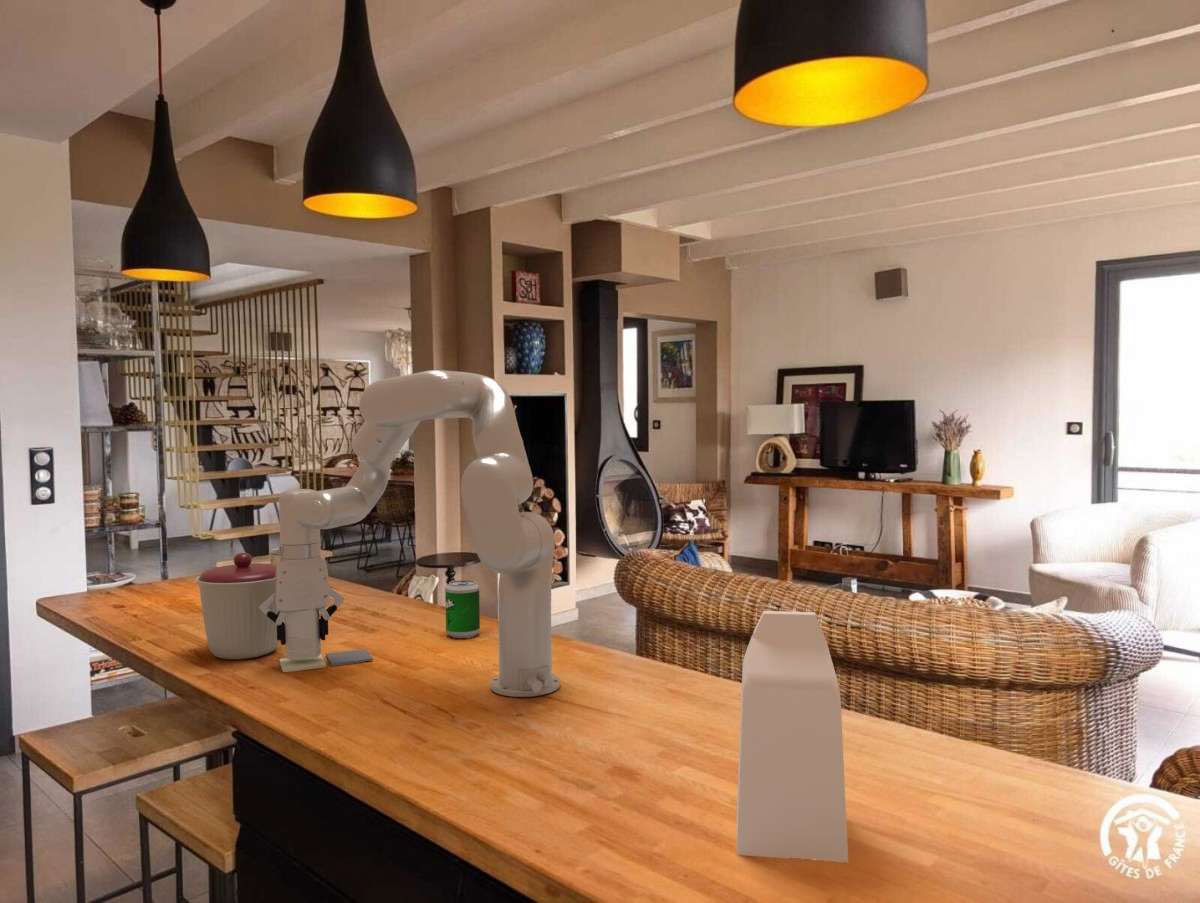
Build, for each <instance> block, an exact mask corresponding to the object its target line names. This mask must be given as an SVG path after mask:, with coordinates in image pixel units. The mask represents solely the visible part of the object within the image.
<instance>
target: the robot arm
mask: <svg viewBox="0 0 1200 903" xmlns="http://www.w3.org/2000/svg"><path fill="white" fill-rule="evenodd" d="M358 408H359V412H360V415H361V417H362V418H363V420H364V422H363V423H362V424H361V425H360V428H358V431H357V432H356V433H355V434H354V436H353V438H352V440H351V448H352V450H353V452H354V453H355V455H356V456H357V457H358V458H359V459H360V462H359V465H358V467H357V469H356V471H355V473H354V474H353V476H352V477H351V478H350V480H349V481H348V482H347V484H346V485H345V486H343V487H342V486H341V487H335V488H329V489H323V490H314V489H309V488H295V489H286V490H283V491H282V492H280V495H279V497H278V501H279V502H278V507H279V509H278V510H279V511H278V512H279V514H278V515H279V545H278V546H277V547H272V550H273V555H279V556H280V557H281V559H279V560H277V564H276V573H275V584H274V591H273V592H272V593H271V594H270V595H269V596H268V597H267V598H266V599H265V600H264V601H262V602H261V603H260V604H259V609H260V610H261V611H262V612H263V613H264V614H265V615H266V616H267V617H268V618H270V619H271V620H272V621H273V622H275V623H276V624H277V640H279V643H280V645H281V646H285V645H286V643H285V625H284V618H285V616H286V614H287V612H295V611H305V610H309V609H312V599H314V609H318V610H319V614H320V617H319V619H320V641H326V636H328V635H329V620H330V618H331V617H332V616H333V614H334V613H336V612H337V609H338V608H339V607H340V606H341V605H342V604H343V602H344V601H345V599H344V597H343V596H342V595H341V594H340V593H339V592H337V591H335V589H333V588H331V587H330V581H329V571H328V566H327V560H326V557H324V556H322V552H321V546H322V545H321V530H329V529H330V530H331V529H334V528H339V527H342V526H348V525H353V524H356V523H358V522H360V521H362V520H363V519H365V518H366V517H367V515H369V514H370V512H371V511H372V510H373V509H374V507H375V506H376V504H377V503H378V501H379V500H380V499H381V498H382V496H383V494H384V492H385V491H386V488H387V485H388V483H389V478H390V474H391V465H392V463H393V461H394V460H395V459H396V457H397V456H398V454H399V453H400V451H401V450H402V448H404V446H405V444H406V442H408V440H409V439H410V437H411V435H412V434H413V433H414V431H415V430H416V429H417V427H418V426H419V424H420V423H421V422H423V421H427V420H437V419H463V418H466V419H471V422H472V439H473V440H472V441H473V445H474V448H475V451H476V454H477V459H474V460H473V461H472V462H470V464H468V465H467V466H466V469H464V472H463V475H462V477H461V482H460V483H461V484H460V493H461V494H460V495H461V500H462V504H463V507H464V512H465V515H466V519H467V523H468V526H469V531H470V534H471V538H472V541H473V544H474V545H473V546H474V548H475V552H476V555H477V557H478V559H479V560H480V562H481V563H482V565H483V566H484V567H485V568H486V569H488V570H489V571H491V572H493V573H495V574H498V575H499V577H498V588H497V589H498V590H497V591H498V592H497V595H498V596H497V600H498V602H497V603H498V604H497V605H498V607H497V610H498V611H497V612H498V620H497V621H498V675H496V676H494V677H493V678H492V679H491V680H490V689H491V690H492V692H494V693H495V694H498V695H501V696H506V697H512V698H513V697H514V698H530V697H531V698H532V697H540V696H544V695H548V694H551V693H553V692H555V691H557V690H558V689H559V688H560V687H561V678H560V677H559V676H558V675H556V674H555V673H553V672H552V670H553V669H552V666H553V665H552V659H553V658H552V652H553V650H552V573H553V572H552V571H553V563H554V557H555V556H554V555H555V546H556V545H555V534H554V531H553V527H552V525H551V524H550V522H549V521H548V520H547V519H546V518H545V517H543V516H542V515H541V514H539V513H537V512H532V511H520V510H519V506H518V505H521V504H523V503H525V502H526V501H527V500H528V499H529V498H530V496H531V495H532V493H533V489H534V479H533V473H532V470H531V466H530V464H529V463H530V462H529V459H528V456H527V452H526V449H525V448H526V447H525V446H524V445H525V444H524V440H523V437H522V436H521V432H520V428H519V424H518V421H517V416H516V411H515V408H514V405H513V402H512V398H511V396H510V395H509V393H508V391H507V390H506V388H505V387H504V386H503V385H502V384H501V383H500V382H499V381H498V380H496V379H495V378H491V377H490V376H487V375H483V374H479V373H475V372H474V373H473V372H466V371H455V370H444V369H443V370H441V369H432V370H425V371H419V372H416V373H411V374H405V375H400V376H394V377H388V378H384V379H379V380H376V381H373V382H372V383H370V384H369V385H367V387H365V388H364V390H363V392H362V393H361V395H360V398H359V404H358ZM330 597H331V598H332V599H334V600H333V602H332V603H331V604H330V602H331V601H330V600H331V598H330ZM273 601H275V606H276V609H277V610H278V613H277V615H276V614H275V613H274V612H273V611H271V610H270V609H269V608H268V606H269V605H270V604H271V603H272V602H273Z"/></svg>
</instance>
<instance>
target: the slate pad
mask: <svg viewBox="0 0 1200 903" xmlns="http://www.w3.org/2000/svg"><path fill="white" fill-rule="evenodd" d="M325 657H326V659H327V660H328V663H329V664H330V666H331V667H339V665H340V666H345V665H346V664H348V665H354V664H353V663H356V664H360V663H359V662H364V663H366V662H365V661H372V660H373V661H374V658H373V657H372V655H371V654H370V653H369V651H368V650H367V648H361V649H353V650H345V651H335V652H328V653H326V654H325ZM373 661H372V662H373ZM346 666H347V665H346Z"/></svg>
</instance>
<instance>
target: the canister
mask: <svg viewBox="0 0 1200 903" xmlns="http://www.w3.org/2000/svg"><path fill="white" fill-rule="evenodd" d="M252 562H253V557H252V555H251V553H248V552H240V553H236V554H235V556H234V557H233V563H234V564H229V565H221V566H217V567H213V568H209V569H207V570H205V571H204V572H202V573H201V574H200V575H198V576H196V577H195V578H194V581H195V583H196V584H198V587H199V588H198V589H199V596H200V601H201V602H200V603H201V609H202V610H201V611H202V617H203V622H204V628H205V629H204V630H205V636H206V641H207V645H208V648H209V650H210V652H211V654H212V655H213V656H215V657H217V658H220V659H223V660H247V659H248V660H249V659H253V658H254V659H255V658H258V657H262V656H265V655H268V654H270V653H272V652H274V650H276V648H277V647H278V645H279V643H280V640H277V624H276V623H275V622H273V621H272V620H271V619H270V618H268V617H267V616H266V615H265V614H264V613H263V612H262V611H261V610H260V609H259V604H260V603H261V602H262V601H264V600H265V599H266V598H267V597H268V596H269V595H270V594H271V593H272V592H273V591H274V584H275V573H276V565H273V564H271V563H255V562H254V563H252ZM268 608H269V609H270V610H271V611H273V612H274V613H275V614H276V615H277V613H278V610H277V609H276V606H275V601H273V602H272V603H271V604H270V605H269V606H268Z"/></svg>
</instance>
